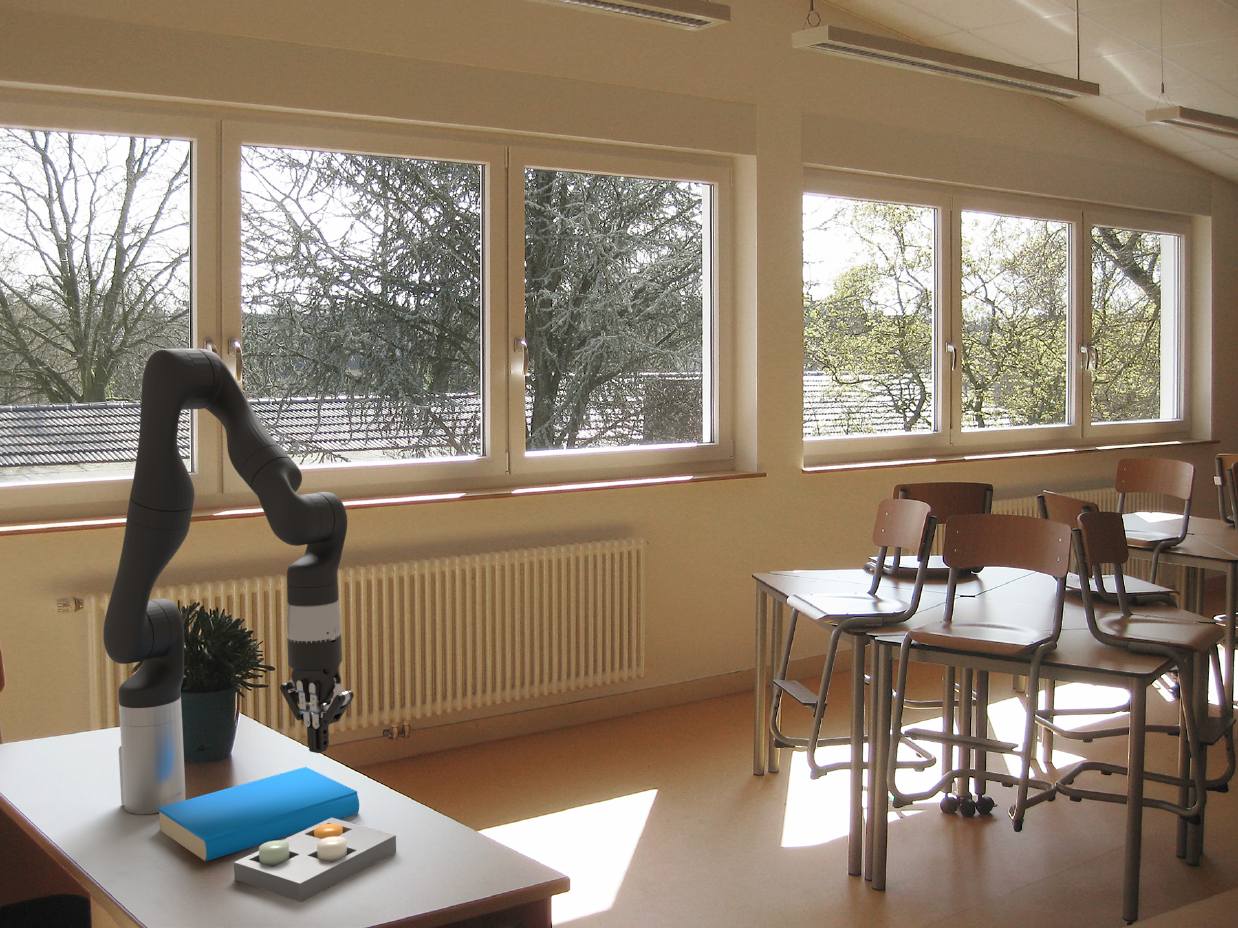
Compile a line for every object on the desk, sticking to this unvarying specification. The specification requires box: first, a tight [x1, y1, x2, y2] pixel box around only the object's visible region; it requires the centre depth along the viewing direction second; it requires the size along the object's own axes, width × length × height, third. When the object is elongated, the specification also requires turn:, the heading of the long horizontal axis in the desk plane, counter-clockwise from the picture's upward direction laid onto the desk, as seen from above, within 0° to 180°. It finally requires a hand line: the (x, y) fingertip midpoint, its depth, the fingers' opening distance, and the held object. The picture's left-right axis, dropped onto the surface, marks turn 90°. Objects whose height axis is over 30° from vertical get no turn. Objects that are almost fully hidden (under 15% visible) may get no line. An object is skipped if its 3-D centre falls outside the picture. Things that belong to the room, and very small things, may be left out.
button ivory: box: [317, 837, 347, 863], centre depth 158 cm, size 4×4×2 cm
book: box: [158, 766, 360, 862], centre depth 176 cm, size 17×4×25 cm
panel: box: [233, 818, 397, 902], centre depth 160 cm, size 13×18×2 cm
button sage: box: [258, 839, 290, 867], centre depth 157 cm, size 4×4×2 cm
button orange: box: [314, 824, 343, 839], centre depth 166 cm, size 4×4×2 cm
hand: (318, 751), depth 164 cm, fingers closed
